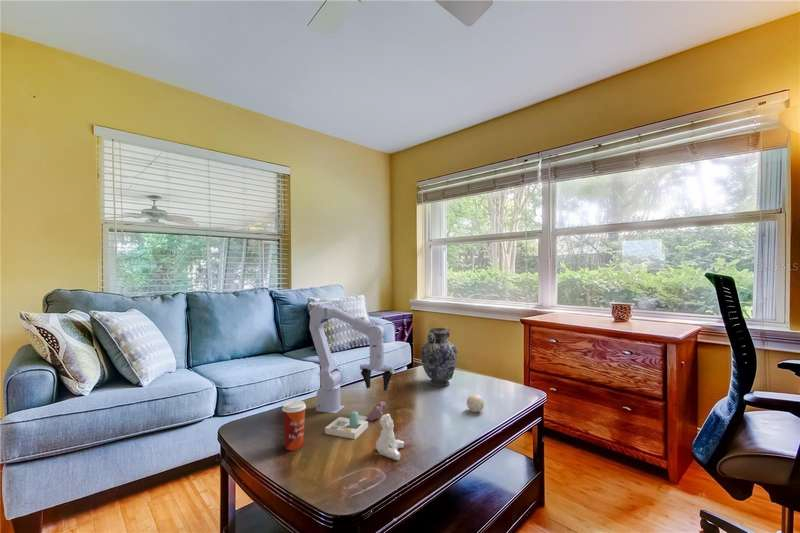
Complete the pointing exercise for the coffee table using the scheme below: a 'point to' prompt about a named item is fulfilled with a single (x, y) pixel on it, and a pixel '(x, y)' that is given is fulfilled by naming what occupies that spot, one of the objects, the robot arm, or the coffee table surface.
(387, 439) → the white creature statuette
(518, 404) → the coffee table surface
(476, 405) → the baseball
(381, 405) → the video game controller
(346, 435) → the socket board
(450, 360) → the decorative vase
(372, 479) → the coffee table surface
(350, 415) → the plug
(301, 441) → the paper cup
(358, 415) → the mat
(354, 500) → the coffee table surface
